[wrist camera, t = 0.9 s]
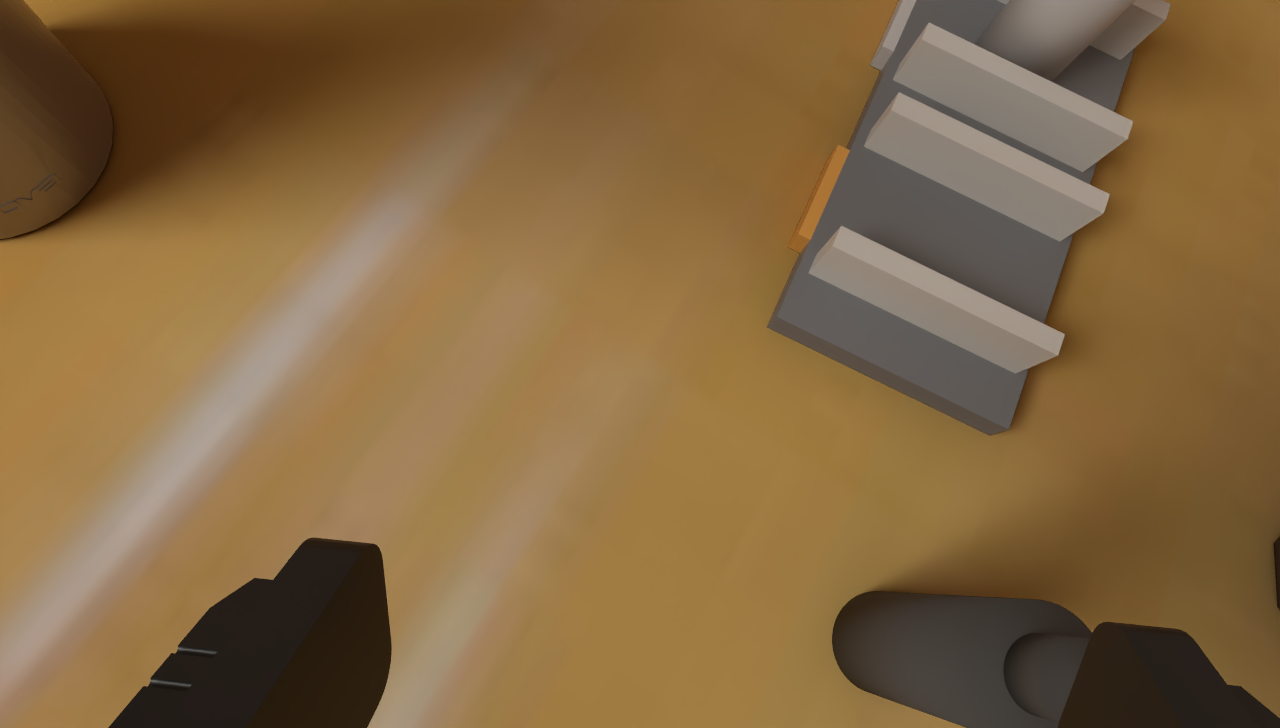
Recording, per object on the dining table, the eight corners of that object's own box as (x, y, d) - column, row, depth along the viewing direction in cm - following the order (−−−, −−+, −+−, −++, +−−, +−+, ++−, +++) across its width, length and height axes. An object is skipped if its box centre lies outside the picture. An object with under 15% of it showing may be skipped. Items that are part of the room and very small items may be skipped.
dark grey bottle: (813, 623, 33) (983, 654, 20) (891, 573, 33) (1099, 572, 21) (867, 714, 32) (1076, 805, 19) (944, 660, 33) (1192, 713, 20)
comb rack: (989, 435, 36) (1052, 416, 31) (754, 321, 36) (784, 286, 31) (1126, 31, 42) (1192, -31, 38) (928, -65, 42) (972, -138, 38)
